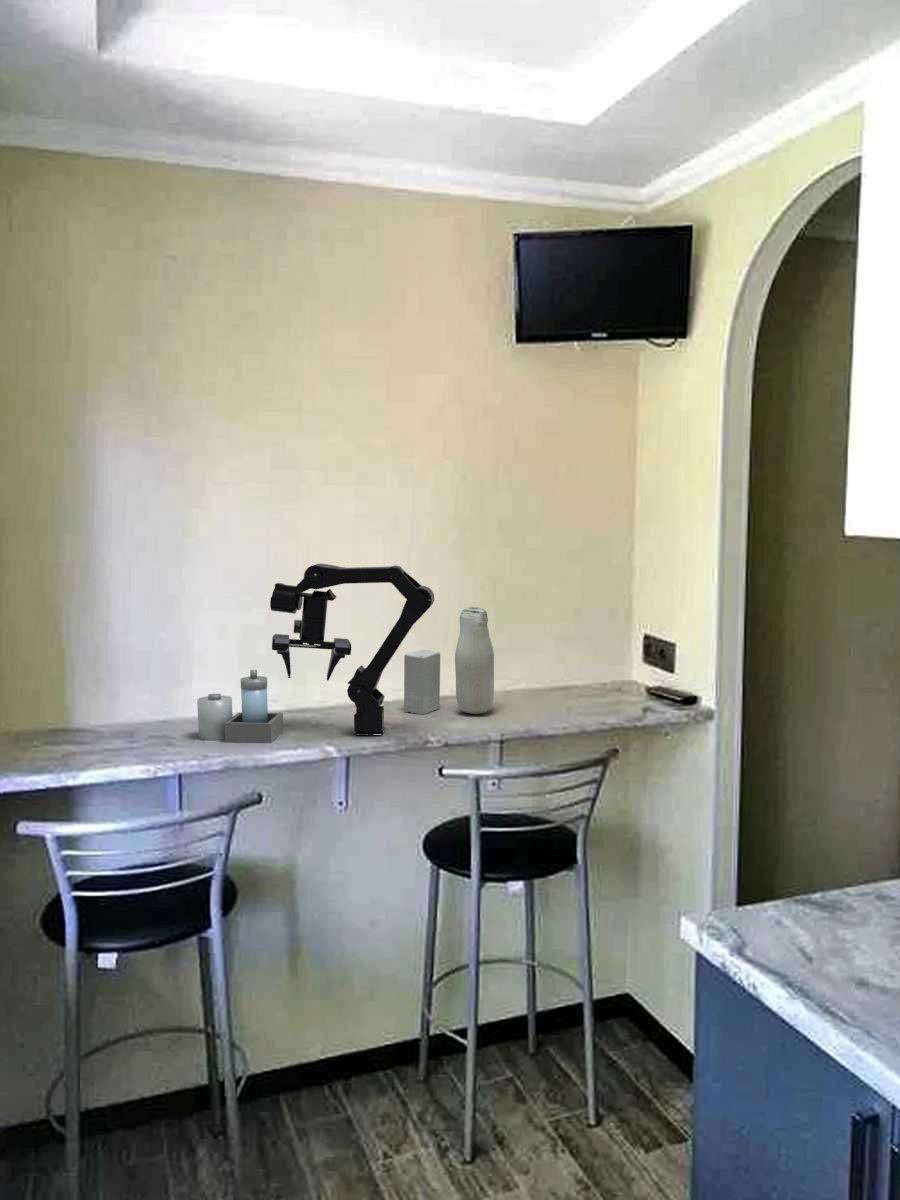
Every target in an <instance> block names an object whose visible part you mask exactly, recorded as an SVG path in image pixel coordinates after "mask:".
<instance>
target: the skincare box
mask: <svg viewBox="0 0 900 1200" xmlns="http://www.w3.org/2000/svg"><path fill="white" fill-rule="evenodd" d="M403 659H404V660H403V661H404V662H403V663H404V665H403V666H404V672H403V673H404V674H403V675H404V678H403V679H404V680H403V681H404V682H403V684H404V685H403V686H404V687H403V691H404V692H403V702H404V703H403V711H405V712H404V713H408V712H411V713H410V714H414V713H416V714H415V715H420V714H424V715H426V714H429V713H432V712H434V711H436V710H440V698H441V696H440V695H441V693H440V692H441V691H440V690H441V687H440V686H441V652H439V651H434V650H430V649H429V650H427V649H419V650H416V651H413V652H409V653H406V654H404V658H403Z"/></svg>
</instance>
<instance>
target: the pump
mask: <svg viewBox="0 0 900 1200" xmlns="http://www.w3.org/2000/svg"><path fill="white" fill-rule="evenodd" d="M249 673H250V675H249V676H245V677H240V681H239V682H240V691H241V692H240V693H241V713H242V722H247V723H268V713H269V711H268V710H269V709H268V708H269V707H268V677H266V676H261V675H258V669H250V670H249Z"/></svg>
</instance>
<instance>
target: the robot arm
mask: <svg viewBox="0 0 900 1200" xmlns="http://www.w3.org/2000/svg"><path fill="white" fill-rule="evenodd" d="M383 583H384V584H385V583H390V584H391V585H392V586H394V588H396V590H397V591H398V592H399V593H400V595H401V596H403V598H405V599H406V600H405V603H404V606H403V607H402V611H401V613H400V615H399V618H398V620H397V621H396V622H395V624H394V626H393V627H392V629H391V630H390V632H389V633H388V635H387V636H386V637H385V640H384V641H383V642H382V644H381V645H380V647H379V649H378V650H377V652H376V653H375V655H374V656H373V658H372V659H371V661H370V662H369V664H368V665H367V666H366V667H364V666H363V665H362V664H361V665H360V666H358V667H357V669H356V670H355V672H354V674H353V677H352V678H351V679H350V680H349V681H348V682H347V685H348V688H347V696H348V698H349V700H350V701H351V702H352V703H354V705H355V713H354V714H353V724H354V726H353V728H354V729H353V731H354V732H355V733H354V735H355V734H368V735H367V736H374V735H373V734H382V733H383V731H384V730H385V731H386V727H385V707H384V706H383V705H382V704H383V702H384V700H385V694H383V693H382V692H381V691H380V690H379V689H378V688H377V687H378V684H379V683H380V680H381V677H382V674H383V673H384V670H385V668H386V667H387V666H388V664H389V663H390V661H391V660H392V658H393V657H394V654H395V653H396V652H397V651H398V649H399V647H400V646H401V645H402V643H403V642H404V639H405V638H406V636H407V635H408V633H409V632H410V630H412V628H413V626H414V625H415V624H416V623H417V621H419V619H420V618H421V617H422V616H424V614H425V613H426V612H427V611H428V610H429V609H430V608H431V607H432V606H433V604H434V602H435V593H434V592H433V590H432V589H431V588H430V587H429V586H426V585H421V583H420V582H419V581H418V580H416V579H415V578H413V577H412V576H411V575H410V574H409V573H408V572H406V571H405V570H404V568H403V567H402V566H399V565H397V564H396V565H391V566H365V567H363V566H361V567H360V566H359V567H345V566H344V567H343V566H337V565H332V564H326V563H316V564H313V565H310V566H308V567H307V568H306V569H305V571H304V572H303V578H302V579H301V581H300V582H299V583H297V585H290V584H285V583H282V582H276V583H274V589H273V591H272V595H271V597H270V600H269V601H270V604H269V605H270V611H271V612H278V613H287V614H292V615H293V614H294V615H295V614H296V613H297V611H301V609H302V611H301V612H302V613H301V614H302V615H301V619H294V621H293V634H299V639H298V638H297V639H296V638H290V634H283V633H282V634H279V633H275V634H273V635H272V640H271V650H272V651H276V653H277V654H278V655H281V657H282V660H283V663H284V664H285V665H284V666H285V668H286V673H287V678H288V679H291V671H292V670H291V654H290V653H291V652H290V648H301V649H302V648H303V649H318V650H319V649H320V650H331V652H330V659H329V663H328V667H327V672H326V681H329V680H330V678H331V676H332V675H333V672H334V670H335V668H336V666H338V664H339V662H340V660H341V659H345V658H346V656H351V655H352V643H351V641H350V639H348V638H340V637H334V638H333V641H328V640H327V641H325V635H326V634H325V633H326V632H325V631H326V623H327V622H326V621H327V610H328V602H329V601H332V602H333V601H334V600H336V599H337V595H336V594H335V593H334V592H333V590H332V589H331V588H330V587H334V586H338V585H339V586H340V585H344V584H348V585H349V584H383ZM326 588H329V589H327V590H326V591H323V590H320V589H326ZM310 590H313V592H312V593H310V592H306V591H310ZM385 731H384V732H385ZM383 734H384V733H383ZM383 734H382V735H383Z"/></svg>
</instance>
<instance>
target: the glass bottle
mask: <svg viewBox="0 0 900 1200" xmlns="http://www.w3.org/2000/svg"><path fill="white" fill-rule="evenodd" d="M459 615H460V616H459V627H460V628H459V634H458V639H457V643H456V647H455V653H454V667H455V669H454V670H455V695H456V698H455V699H456V702H457V706H458V708H459V709H460V710H461V711H462V712H464V713H467V714H469V715H481V714H485V713H487V712H488V711H490V709H491V707H493V704H494V696H495V652H494V651H495V649H494V646H493V643H492V640H491V637H490V632H489V626H488V622H489V618H488V612H487V610H485V609H484V608H480V607H475V606H473V607H472V606H470V607H469V606H467V607H465V608H463V610H461V613H460V614H459Z"/></svg>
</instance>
